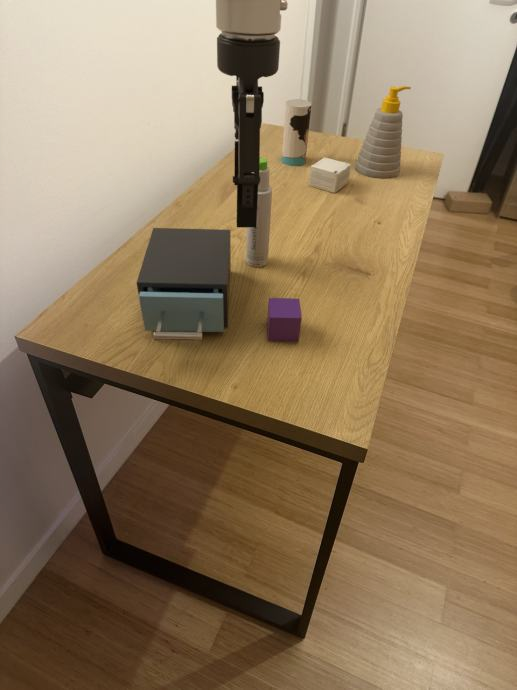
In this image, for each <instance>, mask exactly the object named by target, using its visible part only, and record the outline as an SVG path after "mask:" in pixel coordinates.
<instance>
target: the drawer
mask: <svg viewBox="0 0 517 690" xmlns="http://www.w3.org/2000/svg"><path fill="white" fill-rule="evenodd" d="M147 289H148V292H140V294H138V300H139V305H140V311H141V317H142V322H143V327H144V331H147V332H148V331H149V332H153V341H154V342H194V343H196V342H197V343H202V342H203V340H204V333H224V332H225V331H224V330H225V328H224V311H223V293H221V289H207V288H161V287H147ZM203 332H204V333H203Z"/></svg>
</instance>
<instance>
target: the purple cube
mask: <svg viewBox="0 0 517 690" xmlns="http://www.w3.org/2000/svg"><path fill="white" fill-rule="evenodd" d="M267 303H268V304H267V318H266V327H267V341H268V342H300V341H299V340H300V334H301V327H302V320H303V317H302V309H301V301H300V298H297V297H296V298H295V297H293V298H292V297H291V298H289V297H287V298H286V297H269V298H268V301H267Z"/></svg>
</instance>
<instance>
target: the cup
mask: <svg viewBox="0 0 517 690" xmlns="http://www.w3.org/2000/svg"><path fill="white" fill-rule="evenodd" d="M312 105H313V104H312V102H311V101H308V100H306V99H299V98H298V99H297V98H296V99H295V98H294V99H288V100H286V101H285V110H284V121H283V122H284V124H283V137H282V148H281V149H282V150H281V162H282V163H283V164H284V165H287V166H291V167H293V166H294V167H297V166H302V165H304V164H306V160H307V151H308V143H309V142H308V141H309V132H310V123H311V115H312Z"/></svg>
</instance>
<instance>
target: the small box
mask: <svg viewBox="0 0 517 690" xmlns="http://www.w3.org/2000/svg"><path fill="white" fill-rule="evenodd" d="M351 168H352V165H351V164H350V163H348V162H345V161H341V160H337V159H336V160H335V159H332V158H328V157H325V156H323V158H321V159H320V160H319V161H317V162H315V163H313V164H312V165H311V166H310V171H309V172H310V173H309V179H308V180H309V181H308V186H309V187H313V188H316V189H319V190H323V191H325V192H330V193H333V194H336V193H337V192H339V191H340V190H341V189H342V188H343V187H345V186H346V185H347V184H348V183H349V179H350V172H351Z"/></svg>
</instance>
